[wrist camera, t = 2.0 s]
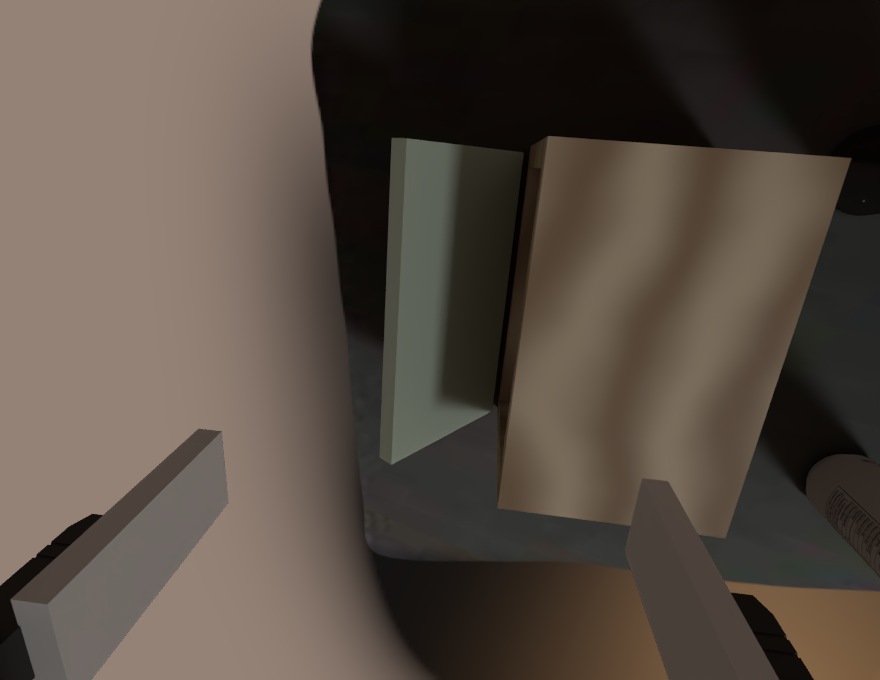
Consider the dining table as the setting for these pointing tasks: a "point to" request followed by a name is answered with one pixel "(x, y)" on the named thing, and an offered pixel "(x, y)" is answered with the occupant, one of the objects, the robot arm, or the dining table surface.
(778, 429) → the dining table surface
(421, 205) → the door
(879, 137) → the beer glass
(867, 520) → the energy drink can
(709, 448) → the cabinet
